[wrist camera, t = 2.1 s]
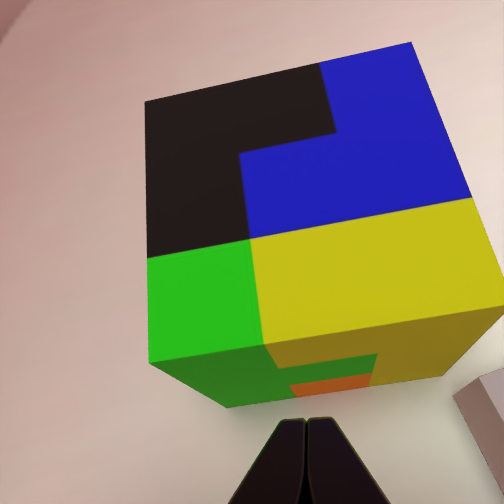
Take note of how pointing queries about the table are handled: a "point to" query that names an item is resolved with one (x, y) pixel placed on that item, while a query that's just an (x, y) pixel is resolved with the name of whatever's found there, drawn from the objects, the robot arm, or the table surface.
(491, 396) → the slate block
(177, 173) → the puzzle toy
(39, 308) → the table surface
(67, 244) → the table surface
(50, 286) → the table surface
